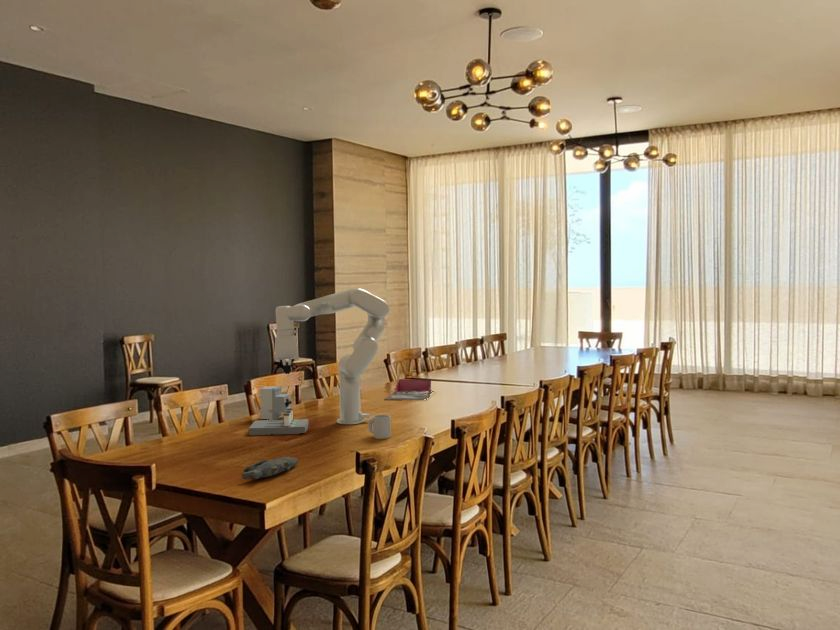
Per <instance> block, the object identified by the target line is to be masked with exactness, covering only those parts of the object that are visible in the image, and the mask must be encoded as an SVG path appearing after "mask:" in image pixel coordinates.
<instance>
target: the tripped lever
mask: <svg viewBox="0 0 840 630" xmlns="http://www.w3.org/2000/svg"><path fill="white" fill-rule="evenodd" d="M289 415H290V413H285V412H283V420H284V426H289V425H290V417H289Z"/></svg>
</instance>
